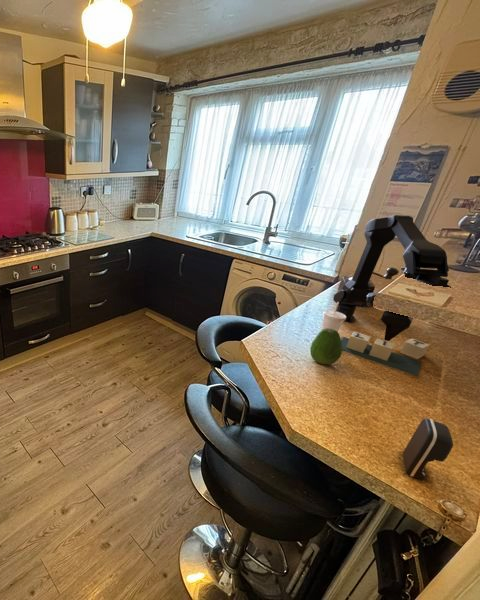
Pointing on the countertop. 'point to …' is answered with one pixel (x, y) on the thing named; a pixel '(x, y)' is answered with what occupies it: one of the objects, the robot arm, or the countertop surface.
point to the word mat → (393, 360)
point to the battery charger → (426, 447)
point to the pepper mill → (388, 275)
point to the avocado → (326, 347)
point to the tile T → (414, 348)
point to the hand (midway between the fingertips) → (389, 335)
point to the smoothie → (333, 319)
